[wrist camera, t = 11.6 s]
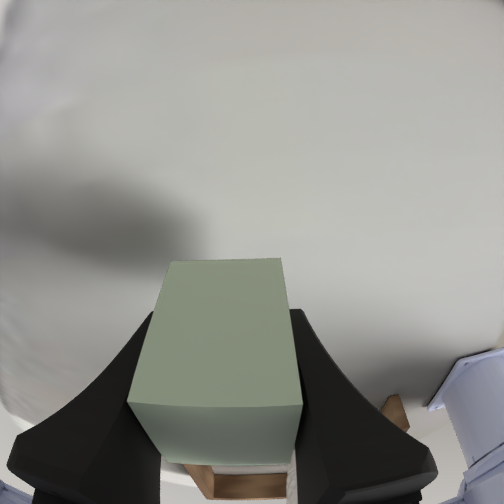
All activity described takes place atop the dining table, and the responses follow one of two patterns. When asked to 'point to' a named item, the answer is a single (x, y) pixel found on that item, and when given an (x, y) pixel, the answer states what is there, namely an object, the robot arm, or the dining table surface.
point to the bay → (268, 483)
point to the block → (220, 366)
